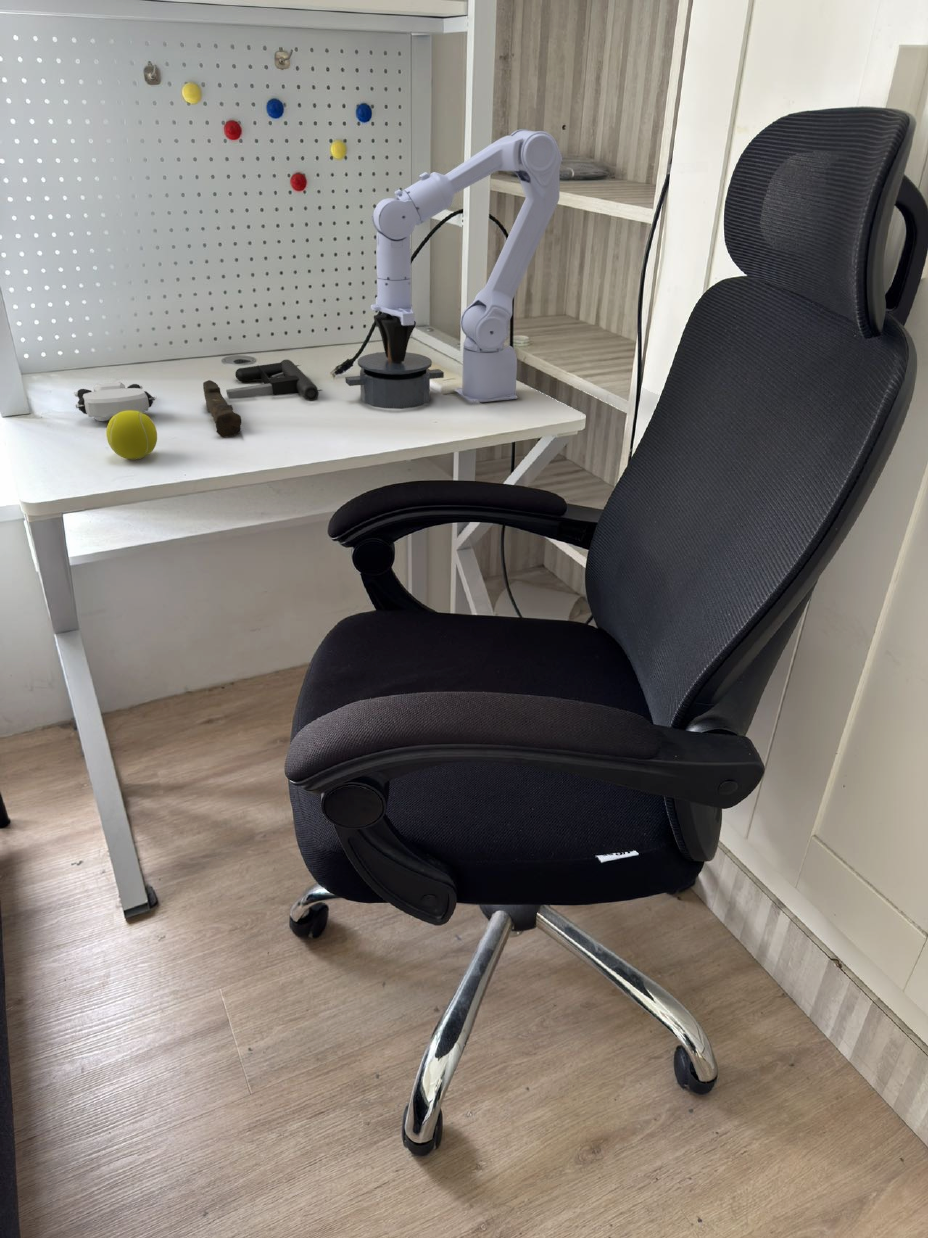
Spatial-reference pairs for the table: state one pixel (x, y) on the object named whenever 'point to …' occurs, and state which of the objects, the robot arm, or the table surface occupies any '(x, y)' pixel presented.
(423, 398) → the pot
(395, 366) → the pot lid
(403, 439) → the table surface
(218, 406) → the brown rough rod
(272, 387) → the toy submachine gun
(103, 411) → the robot toy
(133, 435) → the tennis ball
